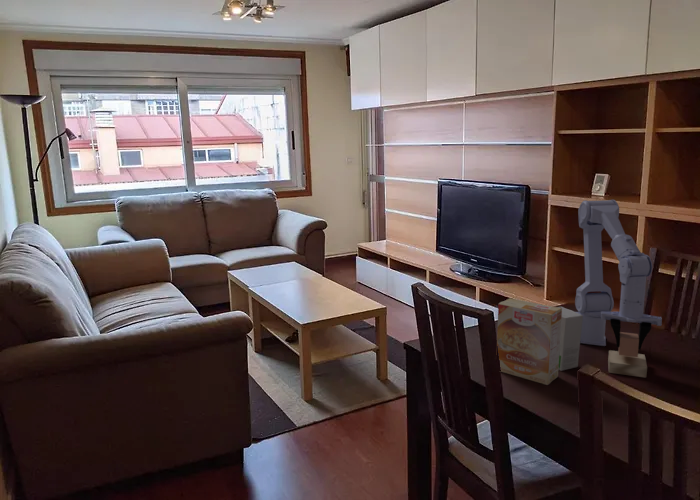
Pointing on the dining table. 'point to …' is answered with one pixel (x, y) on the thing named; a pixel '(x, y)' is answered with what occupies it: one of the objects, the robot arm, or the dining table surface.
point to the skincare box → (569, 339)
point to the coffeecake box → (529, 340)
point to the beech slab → (627, 364)
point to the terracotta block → (629, 344)
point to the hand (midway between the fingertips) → (628, 347)
